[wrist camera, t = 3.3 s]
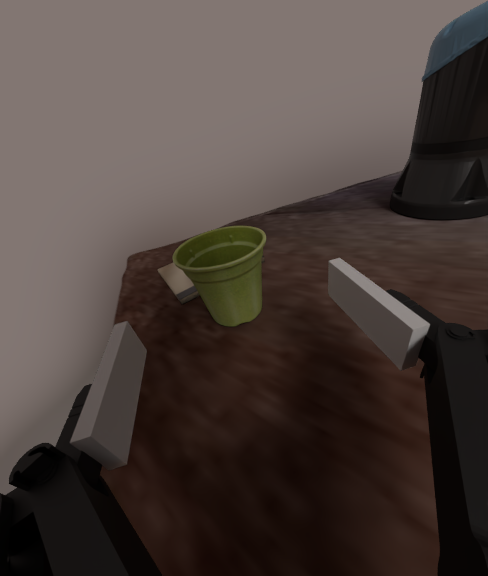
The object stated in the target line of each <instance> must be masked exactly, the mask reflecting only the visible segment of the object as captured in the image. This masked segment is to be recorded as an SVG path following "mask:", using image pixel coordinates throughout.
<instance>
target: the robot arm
mask: <svg viewBox="0 0 488 576" xmlns="http://www.w3.org/2000/svg"><path fill="white" fill-rule="evenodd" d="M423 81H424V82H423ZM422 82H423V87H422V93H421V99H420V104H419V109H418V115H417V120H416V125H415V131H414V136H413V142H412V147H411V153H410V157H409V159H408V161H407V163H406V165H405V167H404V169H403V171H402V173H401V175H400V177H399V179H398V181H397V183H396V185H395V187H394V189H393V191H392V195H391V201H390V207H391V209H393V210H394V211H395V212H397V213H400V214H403V215H406V216H411V217H416V218H424V219H464V218H473V217H479V216H484V215H488V1H486V2H485V3H483V4H481V5H479V6H477V7H475V8H474V9H472V10H470V11H468V12H466V13H465V14H463V15H462V16H460V17H458V18H457V19H455V20H453V21H452V22H451V23H449V24H448V25H447V26H445V27H444V28H443V29H442V30H441V31H440V32H439V34H438V35H437V36H436V37H435V39H434V41H433V43H432V45H431V48H430V52H429V57H428V62H427V65H426V70H425V74H424V76H423V77H422ZM328 295H329V296H330V297H331V298H332V299H333V300H334V301H335V302H336V303H337V304H338V305H339V306H340V307H341V308H342V309H343V311H344V312H345V313H346V314H347V315H348V316H349V317H350V318H351V319H352V320H353V321H354V322H355V323H356V324H357V325H358V326H359V327H360V328H361V329H362V330H363V331H364V333H365V334H366V335H367V336H368V337H369V338H370V339H371V340H372V341H373V342H374V343H375V344H376V345H377V346H378V347H379V348H380V349H381V350H382V351H383V352H384V353H385V354H386V356H387V357H388V358H389V359H390V360H391V361H392V362H393V363H394V364H395V365H396V366H397V367H398V368H399V369H400V370H401V371H402V370H404V369H407V368H410V367H413V366H416V363H417V360H418V357H419V358H420V359H421V360H422V361H423V362H424V363H425V364H424V366H423V369H422V372H421V374H420V378H423V376H424V379H425V390H426V400H427V411H428V422H429V433H430V444H431V455H432V466H433V477H434V487H435V498H436V509H437V520H438V531H439V542H440V557H439V562H438V576H488V330H472V329H470V328H468V327H466V326H464V325H460V324H456V323H445V322H443V321H442V320H440V319H439V318H437V317H436V316H435V315H433V314H432V313H430V312H429V311H427V310H426V309H424V308H423V307H421V306H420V305H418V304H417V303H416V302H414V301H413V300H411V299H410V298H408V297H407V296H405V295H404V294H402V293H400V292H397V291H395V290H392V289H391V290H387V291H384V290H383V289H381V288H380V287H379V286H377V285H376V284H375V283H373V282H372V281H371V280H369V279H368V278H366V277H365V276H364V275H362V274H361V273H360V272H358V271H357V270H356V269H354V268H353V267H351V266H350V265H349V264H347V263H346V262H345V261H343V260H342V259H341V258H337V259H334V260H330V261H329V278H328ZM146 354H147V350H146V348H145V347H144V345H143V344H142V342H141V341H140V339H139V338H138V336H137V335H136V333H135V332H134V330H133V329H132V327H131V326H130V324H129V323H128V321H126V322H122V323H119V324H116V325H114V328H113V331H112V333H111V336H110V338H109V341H108V344H107V347H106V349H105V352H104V354H103V357H102V359H101V362H100V365H99V367H98V370H97V372H96V375H95V378H94V380H93V383H92V384H90V385H86V386H84V388H83V389H82V390H81V392H80V393H79V394H78V396H77V397H76V399H75V402H74V404H73V407H72V410H71V411H70V414H69V416H68V417H69V418H68V419H67V421H66V423H65V425H64V428H63V430H62V432H61V435H60V437H59V440H58V442H57V445H56V447H54V446H53V445H51V444H49V443H42V444H39V445H37V446H35V447H33V448H32V449H30V450H29V451H28V452H26V454H24V455H23V456H22V457H21V458H20V459H19V461H18V462H17V464H16V465H15V466H14V468H13V470H12V472H11V474H10V477H9V484H11V485H13V486H15V487H17V488H16V489H14V490H13V491H11V492H10V493H8V494H7V495H3V494H1V493H0V576H162V574H161V572H160V571H159V569H158V568H157V566H156V564H155V563H154V561H153V559H152V558H151V556H150V554H149V553H148V551H147V549H146V548H145V546H144V545H143V543H142V541H141V540H140V538H139V536H138V535H137V533H136V531H135V530H134V528H133V527H132V525H131V523H130V522H129V520H128V518H127V517H126V515H125V513H124V512H123V510H122V508H121V507H120V505H119V504H118V502H117V500H116V499H115V497H114V495H113V494H112V492H111V490H110V489H109V487H108V485H107V484H106V482H105V481H104V479H103V478H102V477H101V476H100V471H101V467H102V466H103V467H105V468H106V469H108V470H112V469H115V468H118V467H121V466H124V465H127V461H128V455H129V449H130V444H131V438H132V433H133V427H134V421H135V416H136V410H137V404H138V399H139V393H140V388H141V382H142V376H143V371H144V365H145V359H146Z"/></svg>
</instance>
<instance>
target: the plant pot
mask: <svg viewBox="0 0 488 576" xmlns="http://www.w3.org/2000/svg"><path fill="white" fill-rule="evenodd" d="M265 243H266V235H265V233H264V232H263V231H262V230H261V229H259V228H256V227H251V226H229V227H224V228H219V229H215V230H211V231H208V232H205V233H202V234H200V235H197V236H195V237H193V238H191V239H189V240H187V241H186V242H184V243H183V244H181V245H180V246H179V247H178V248H177V249H176V251H175V252H174V254H173V262H174V264H175V265H176V266H177V267H178V268H179V269H181V270H183V272H184V273H185V275H186V276H187V277H188V278H189V279H191V281H192V283H193V284H194V286H195V288H196V289H197V291H198V293H199V294H200V296H201V298H202V300H203V301H204V303H205V305H206V307H207V308H208V310H209V312H210V314H211V315H212V317H213V319H214V320H215V321H216V322H217V323H219V324H221V325H223V326H237V325H238V324H241V323H244V322H250V321H252V320H253V319H254V318H256V317H257V316H258V314H259V313H260V311H261V309H262V279H261V258H262V256H263V247H264V245H265Z"/></svg>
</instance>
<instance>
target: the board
mask: <svg viewBox="0 0 488 576" xmlns="http://www.w3.org/2000/svg"><path fill="white" fill-rule="evenodd" d="M262 262H264V256H262V258H261V263H262ZM158 272H159V274H160V275H161V277H162V278H163V279H164V281H165V282H166V283H167V285H168V286H169V287H170V289H171V290H172V292H173V293H174V294H175V296H176V297H177V298H178V300H179V301H180V302H181V304H184V303H186V302H188V301H190V300H192V299H194V298H195V297H197V296H199V295H200V294H199V293H198V291H197V289H196V288H195V286H194V284H193V283H192V281H191V279H189V278H188V277H187V276H186V275H185V273H184V272H183V270H181V269H179V268H178V267H177V266H176V265H175V264H174V262H173V263H171V264H169V265H167V266H164V267H162V268H160V269H158Z"/></svg>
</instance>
